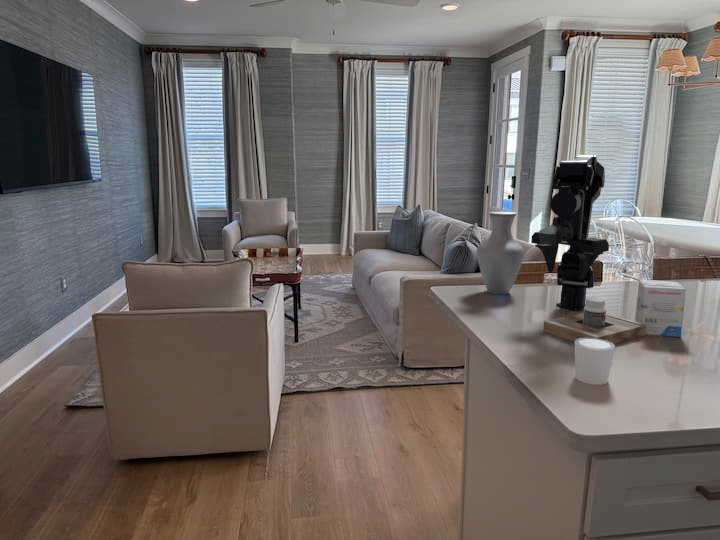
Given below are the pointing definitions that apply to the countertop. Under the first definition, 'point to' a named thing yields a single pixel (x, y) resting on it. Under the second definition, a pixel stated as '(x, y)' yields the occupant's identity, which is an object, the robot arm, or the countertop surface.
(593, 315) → the pill bottle
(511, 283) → the vase
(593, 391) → the countertop surface
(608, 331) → the walnut jig
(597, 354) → the white short tapered cylinder
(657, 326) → the ink box
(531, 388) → the countertop surface
